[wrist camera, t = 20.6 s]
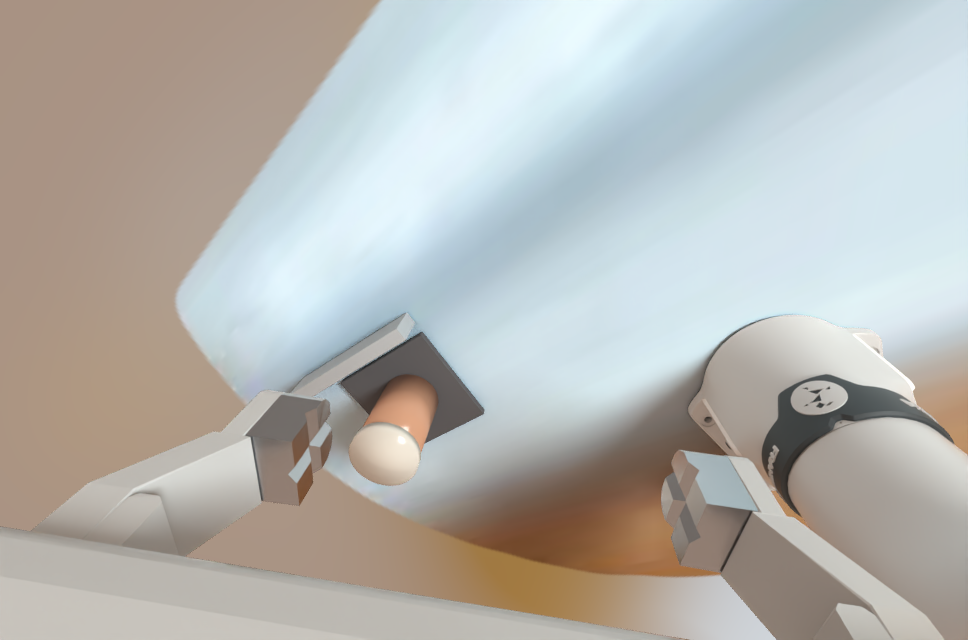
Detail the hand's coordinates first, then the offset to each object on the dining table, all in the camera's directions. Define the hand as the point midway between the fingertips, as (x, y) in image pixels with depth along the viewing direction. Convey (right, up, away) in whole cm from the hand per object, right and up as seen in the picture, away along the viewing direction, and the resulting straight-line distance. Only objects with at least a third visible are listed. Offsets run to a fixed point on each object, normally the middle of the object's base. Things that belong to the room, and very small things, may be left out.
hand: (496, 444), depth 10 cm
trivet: (-9, -6, +42) cm, 43 cm away
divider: (-15, -1, +40) cm, 43 cm away
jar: (-9, -6, +41) cm, 42 cm away
